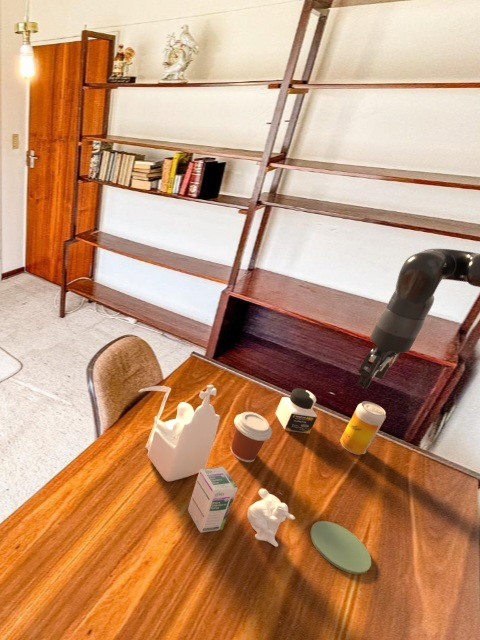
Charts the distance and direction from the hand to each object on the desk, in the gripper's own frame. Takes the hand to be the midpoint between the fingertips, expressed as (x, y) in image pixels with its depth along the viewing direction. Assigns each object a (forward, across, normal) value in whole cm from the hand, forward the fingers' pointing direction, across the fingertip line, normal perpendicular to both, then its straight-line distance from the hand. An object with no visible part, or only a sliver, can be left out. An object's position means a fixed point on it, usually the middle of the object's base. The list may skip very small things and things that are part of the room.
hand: (369, 381), depth 102 cm
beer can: (+26, +7, -2) cm, 27 cm away
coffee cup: (+26, -24, +12) cm, 37 cm away
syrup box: (+26, -50, +4) cm, 57 cm away
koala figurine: (+26, -41, -4) cm, 49 cm away
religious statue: (+26, -46, +20) cm, 56 cm away
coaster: (+25, -28, -15) cm, 41 cm away
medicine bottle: (+26, 0, +12) cm, 28 cm away
